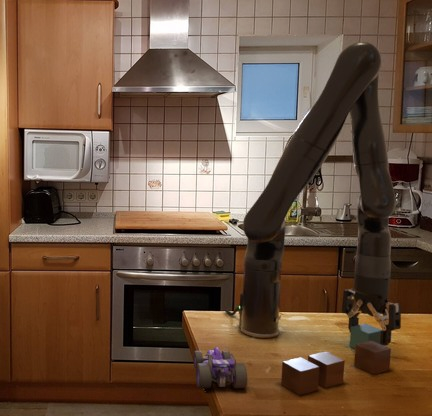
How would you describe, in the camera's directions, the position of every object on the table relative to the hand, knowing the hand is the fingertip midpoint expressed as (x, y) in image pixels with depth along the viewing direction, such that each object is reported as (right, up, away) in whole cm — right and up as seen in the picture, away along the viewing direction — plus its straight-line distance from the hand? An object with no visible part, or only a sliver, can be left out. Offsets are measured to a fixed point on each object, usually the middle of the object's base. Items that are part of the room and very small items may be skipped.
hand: (368, 338), depth 125 cm
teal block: (0, -3, +1) cm, 3 cm away
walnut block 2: (-17, -5, -16) cm, 24 cm away
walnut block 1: (-23, -5, -19) cm, 30 cm away
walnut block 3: (-4, -4, -10) cm, 11 cm away
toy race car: (-39, -5, -13) cm, 42 cm away
